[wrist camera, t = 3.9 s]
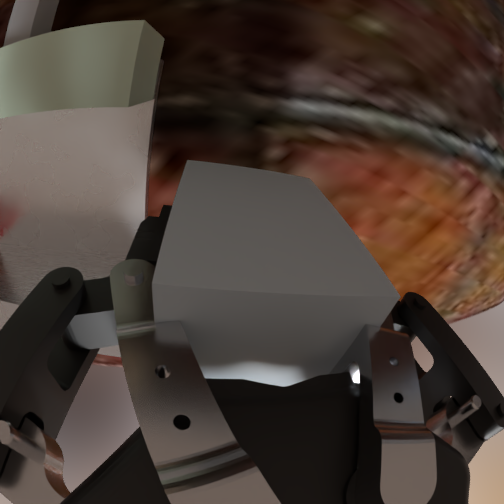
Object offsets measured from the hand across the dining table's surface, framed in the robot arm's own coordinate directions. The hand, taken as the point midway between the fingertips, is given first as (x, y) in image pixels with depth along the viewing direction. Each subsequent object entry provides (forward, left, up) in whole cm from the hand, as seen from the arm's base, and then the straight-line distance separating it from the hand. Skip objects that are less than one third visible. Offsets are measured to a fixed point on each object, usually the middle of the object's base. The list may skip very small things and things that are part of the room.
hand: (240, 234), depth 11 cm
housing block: (0, 0, -1) cm, 1 cm away
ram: (+11, -11, -3) cm, 16 cm away
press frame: (+11, 0, -4) cm, 11 cm away
